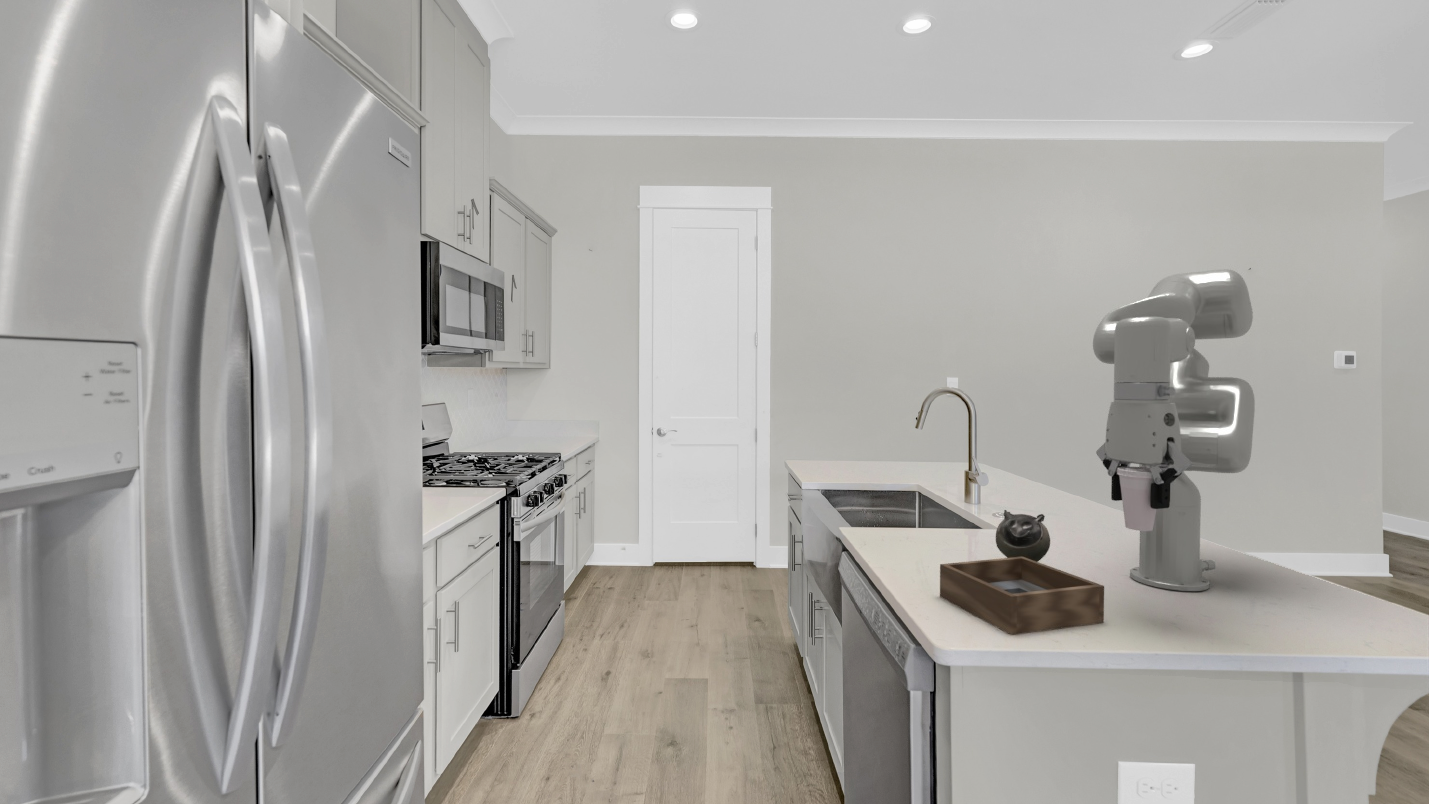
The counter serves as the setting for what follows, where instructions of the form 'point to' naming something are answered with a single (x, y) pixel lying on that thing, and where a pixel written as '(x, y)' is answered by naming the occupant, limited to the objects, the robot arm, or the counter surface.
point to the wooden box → (1022, 594)
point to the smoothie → (1137, 497)
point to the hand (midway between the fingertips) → (1139, 502)
